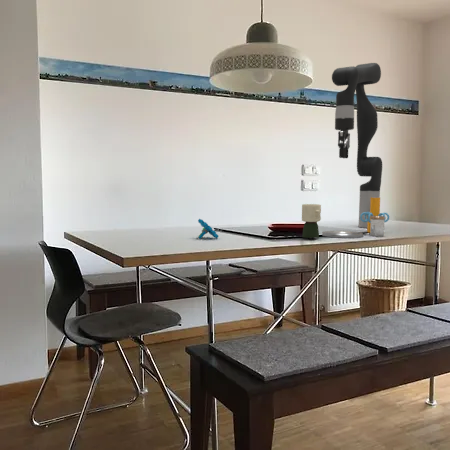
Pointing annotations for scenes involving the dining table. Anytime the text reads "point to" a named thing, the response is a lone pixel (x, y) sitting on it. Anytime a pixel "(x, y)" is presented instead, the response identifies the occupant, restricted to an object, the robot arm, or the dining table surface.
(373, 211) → the orange block with rings
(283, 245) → the dining table surface
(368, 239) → the dining table surface
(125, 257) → the dining table surface
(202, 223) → the blue piece
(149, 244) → the dining table surface
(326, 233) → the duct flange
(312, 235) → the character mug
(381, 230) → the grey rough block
